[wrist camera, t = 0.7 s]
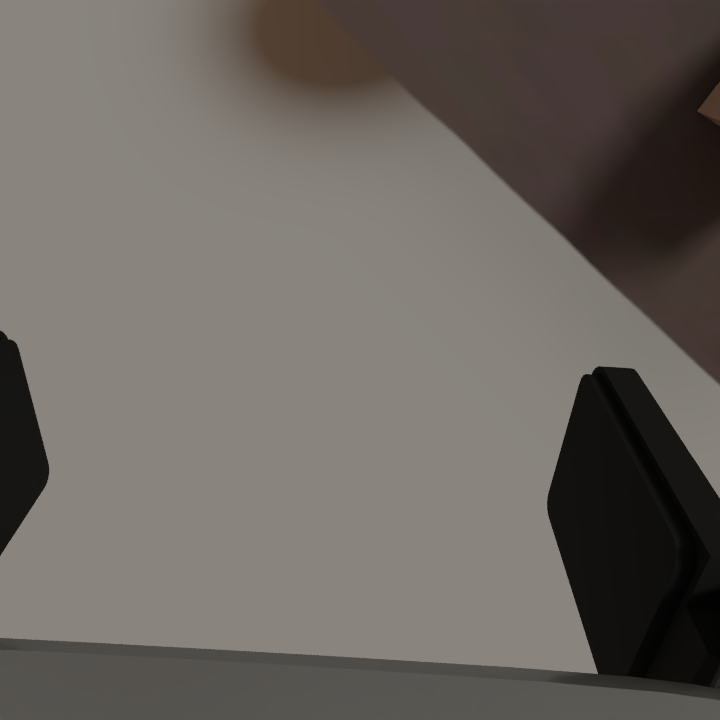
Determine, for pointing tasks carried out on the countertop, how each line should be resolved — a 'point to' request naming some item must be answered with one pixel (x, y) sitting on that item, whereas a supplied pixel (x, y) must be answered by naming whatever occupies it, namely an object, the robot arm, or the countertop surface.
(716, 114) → the cup
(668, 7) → the countertop surface
